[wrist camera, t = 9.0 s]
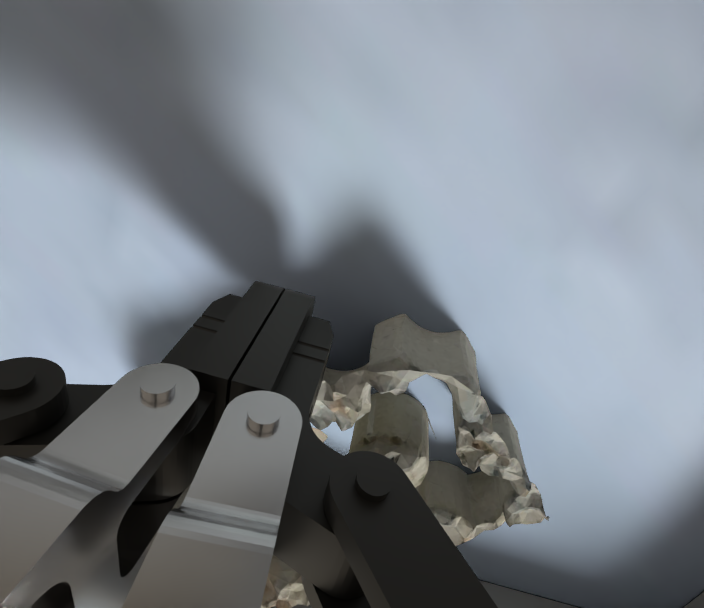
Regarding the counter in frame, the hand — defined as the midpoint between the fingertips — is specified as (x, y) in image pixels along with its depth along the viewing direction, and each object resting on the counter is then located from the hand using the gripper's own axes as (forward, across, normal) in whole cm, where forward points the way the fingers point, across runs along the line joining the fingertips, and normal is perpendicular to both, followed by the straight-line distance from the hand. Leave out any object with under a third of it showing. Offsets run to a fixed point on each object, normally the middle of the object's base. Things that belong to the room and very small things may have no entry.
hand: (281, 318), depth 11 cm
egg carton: (+2, -2, +5) cm, 6 cm away
